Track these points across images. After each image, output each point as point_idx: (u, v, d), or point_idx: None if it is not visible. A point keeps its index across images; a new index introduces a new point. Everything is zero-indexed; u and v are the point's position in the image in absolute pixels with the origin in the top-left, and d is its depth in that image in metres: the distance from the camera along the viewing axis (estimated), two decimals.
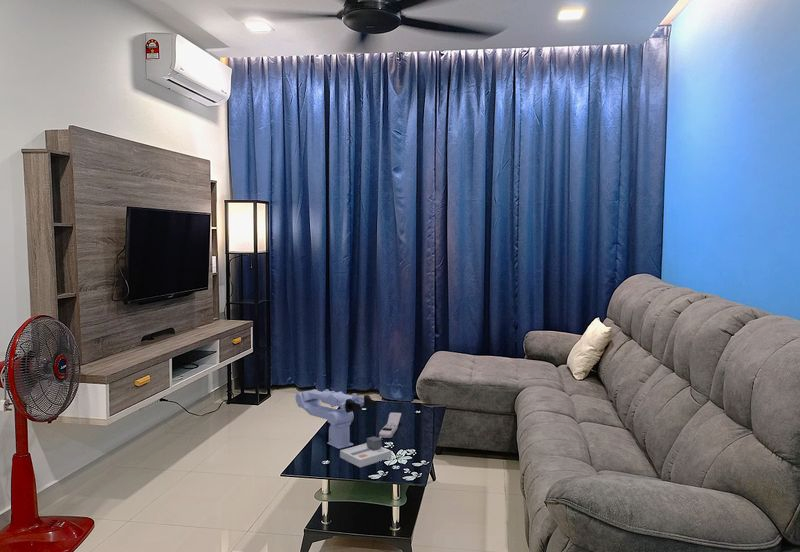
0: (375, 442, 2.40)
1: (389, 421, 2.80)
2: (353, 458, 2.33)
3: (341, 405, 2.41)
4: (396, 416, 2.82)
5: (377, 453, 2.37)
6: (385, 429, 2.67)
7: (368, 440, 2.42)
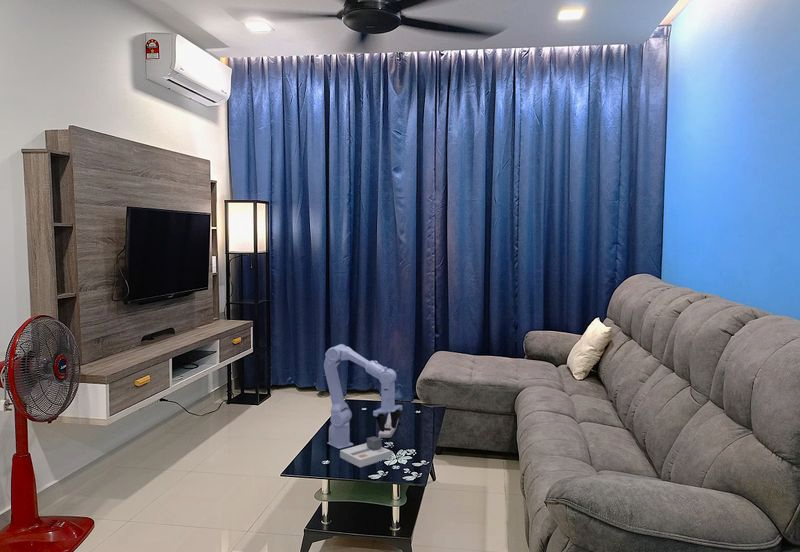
0: (375, 442, 2.40)
1: (388, 421, 2.80)
2: (353, 458, 2.33)
3: (375, 413, 2.42)
4: None
5: (377, 453, 2.37)
6: None
7: (368, 440, 2.42)
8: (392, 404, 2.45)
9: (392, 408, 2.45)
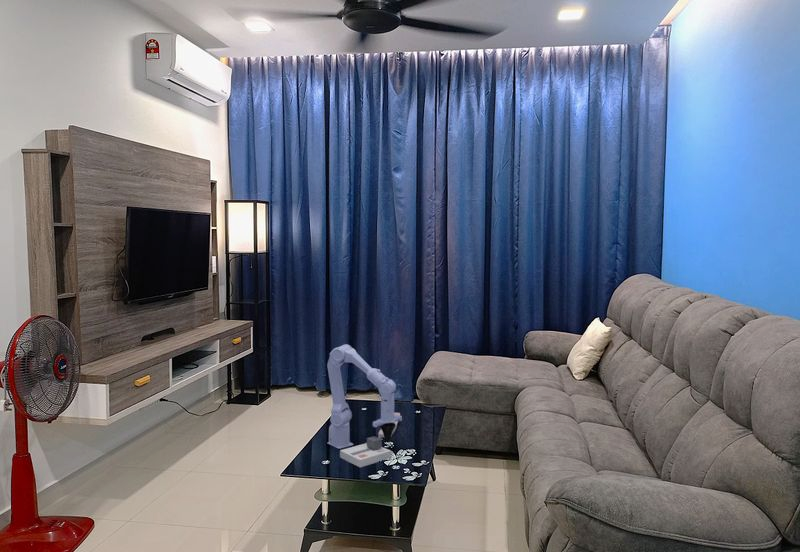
0: (375, 442, 2.40)
1: None
2: (353, 458, 2.33)
3: (374, 424, 2.42)
4: None
5: (377, 453, 2.37)
6: None
7: (368, 440, 2.42)
8: (392, 415, 2.45)
9: (392, 419, 2.45)
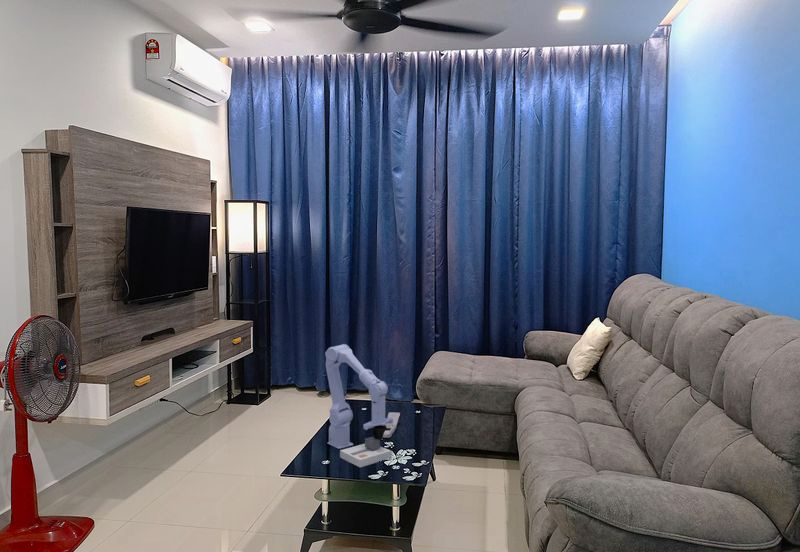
0: (373, 442, 2.39)
1: None
2: (353, 458, 2.33)
3: (365, 427, 2.39)
4: (395, 416, 2.83)
5: (377, 453, 2.37)
6: None
7: (366, 440, 2.42)
8: (383, 417, 2.41)
9: (383, 421, 2.42)
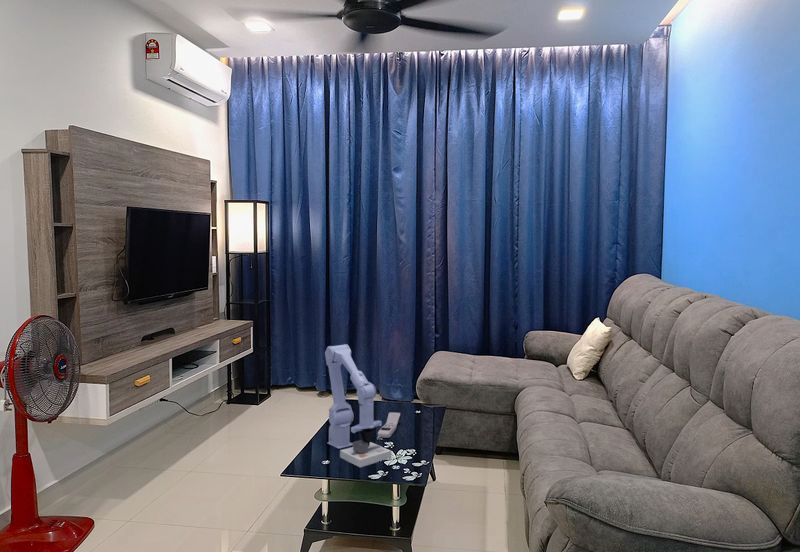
0: (361, 446, 2.35)
1: (388, 421, 2.81)
2: (353, 458, 2.33)
3: (352, 430, 2.35)
4: (395, 416, 2.83)
5: (377, 453, 2.37)
6: (384, 429, 2.68)
7: (354, 444, 2.38)
8: (371, 420, 2.37)
9: (371, 424, 2.37)
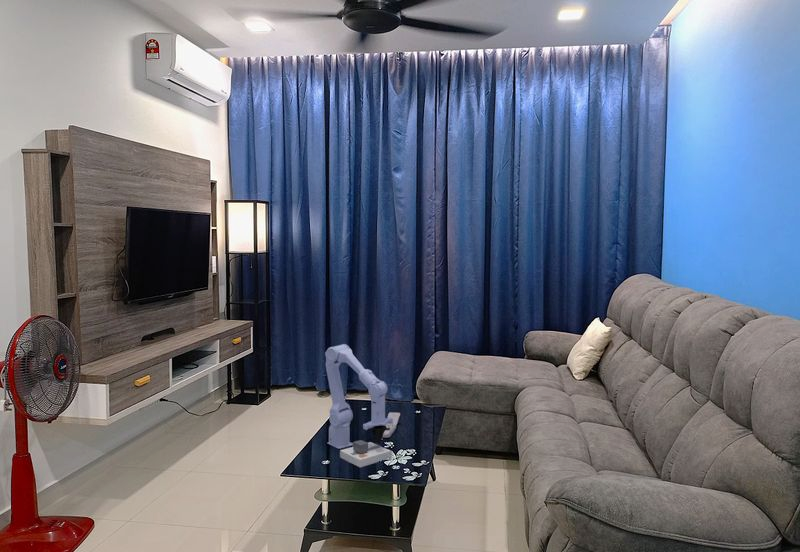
0: (361, 446, 2.35)
1: None
2: (353, 458, 2.33)
3: (364, 427, 2.39)
4: (395, 416, 2.83)
5: (377, 453, 2.37)
6: None
7: (354, 444, 2.38)
8: (382, 417, 2.41)
9: (382, 421, 2.41)
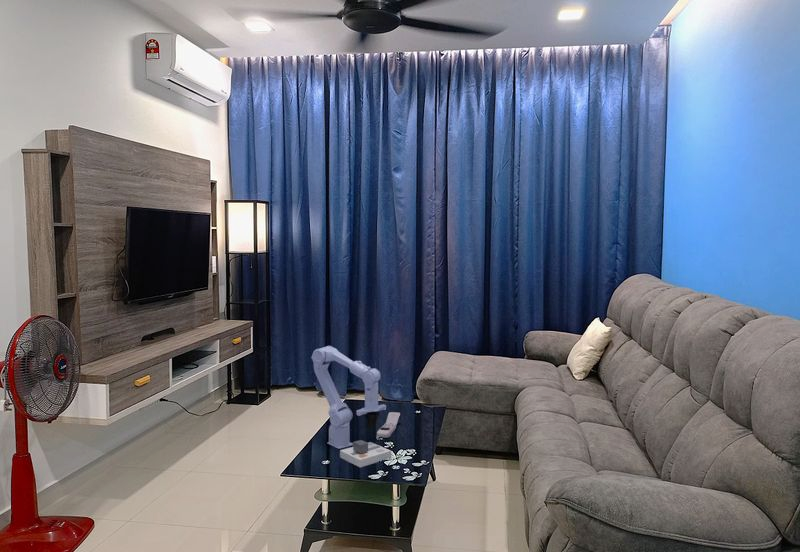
0: (361, 446, 2.35)
1: (388, 421, 2.81)
2: (353, 458, 2.33)
3: (358, 413, 2.42)
4: (395, 416, 2.83)
5: (377, 453, 2.37)
6: (383, 429, 2.68)
7: (354, 444, 2.38)
8: (375, 404, 2.45)
9: (375, 408, 2.45)
